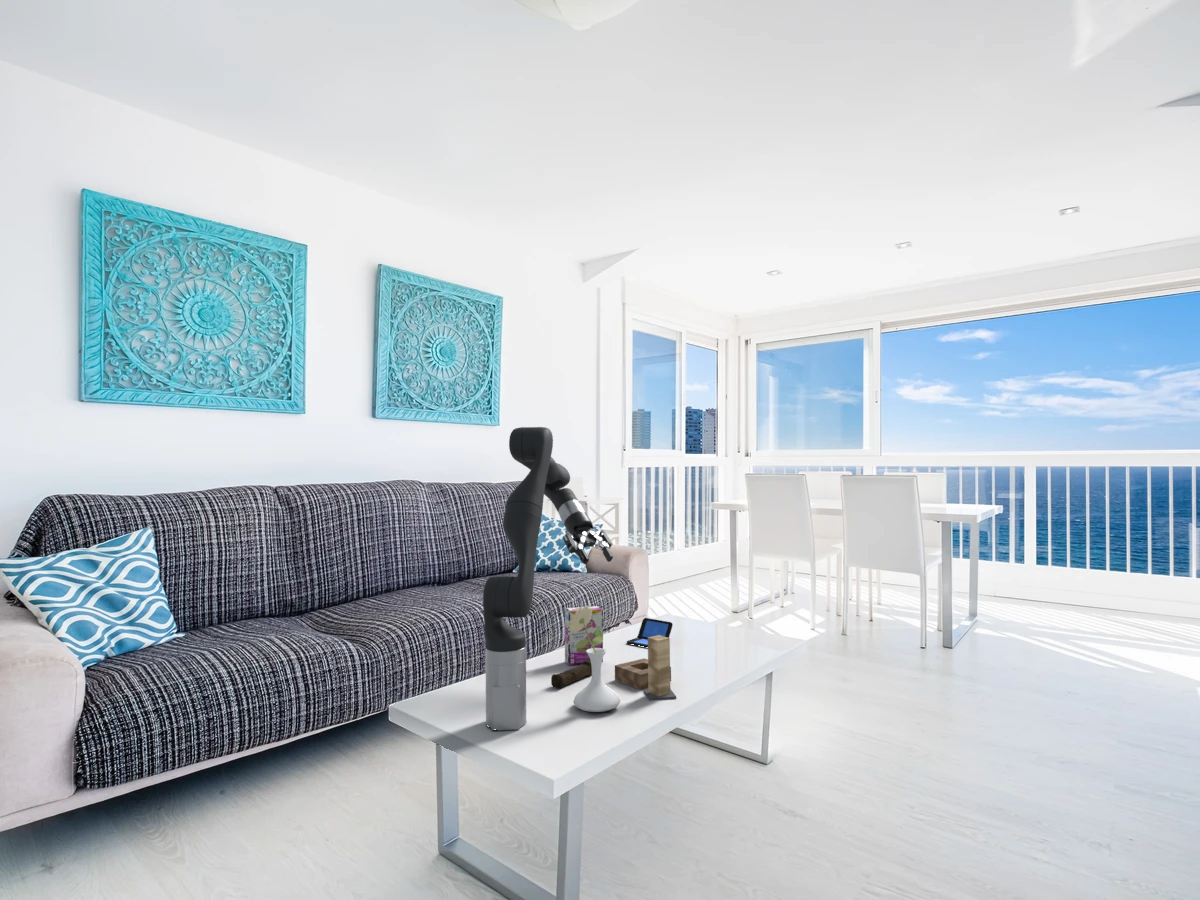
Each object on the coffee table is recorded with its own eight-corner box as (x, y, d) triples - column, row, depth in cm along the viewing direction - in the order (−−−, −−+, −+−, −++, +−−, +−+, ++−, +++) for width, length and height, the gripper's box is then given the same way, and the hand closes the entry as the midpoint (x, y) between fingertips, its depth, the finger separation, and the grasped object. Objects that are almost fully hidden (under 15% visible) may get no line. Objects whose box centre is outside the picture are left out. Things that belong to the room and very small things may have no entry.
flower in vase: (606, 697, 162) (605, 598, 163) (628, 711, 152) (627, 605, 153) (559, 705, 156) (559, 603, 157) (579, 721, 146) (578, 611, 147)
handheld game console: (625, 644, 215) (624, 622, 215) (644, 638, 223) (643, 617, 223) (655, 650, 206) (654, 627, 207) (673, 644, 215) (673, 622, 215)
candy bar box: (568, 666, 190) (568, 610, 190) (564, 661, 194) (563, 607, 195) (604, 662, 193) (603, 608, 194) (599, 658, 198) (598, 605, 199)
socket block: (671, 681, 174) (670, 666, 174) (641, 690, 167) (640, 674, 167) (644, 672, 182) (644, 658, 183) (614, 680, 176) (614, 665, 176)
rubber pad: (676, 698, 160) (676, 696, 160) (649, 700, 159) (649, 698, 159) (669, 689, 167) (669, 687, 167) (643, 691, 166) (643, 689, 166)
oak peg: (670, 693, 163) (669, 638, 163) (658, 696, 160) (657, 640, 161) (660, 689, 166) (659, 635, 167) (648, 692, 164) (647, 637, 164)
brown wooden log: (561, 691, 168) (561, 673, 168) (550, 688, 170) (550, 670, 171) (606, 674, 182) (605, 657, 183) (595, 671, 185) (595, 655, 185)
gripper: (560, 511, 182) (584, 554, 172) (599, 509, 191) (624, 550, 181) (550, 528, 186) (573, 572, 176) (589, 526, 195) (612, 567, 185)
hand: (599, 561), depth 179 cm, fingers open, 8 cm apart
